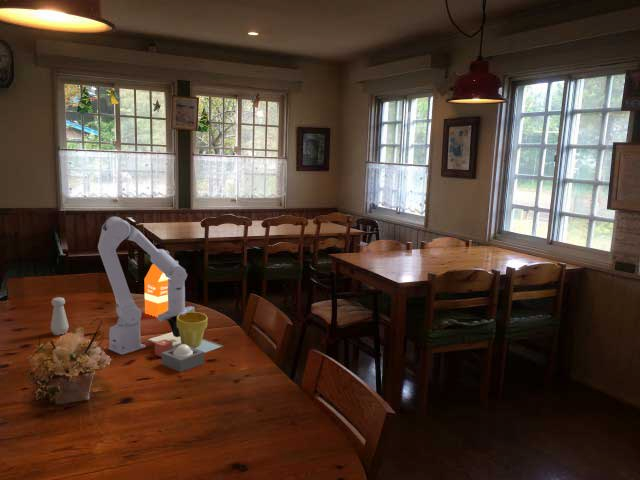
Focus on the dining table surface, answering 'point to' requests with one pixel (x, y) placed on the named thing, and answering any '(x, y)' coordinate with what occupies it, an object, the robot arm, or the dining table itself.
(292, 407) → the dining table surface
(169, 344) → the red die
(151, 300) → the orange juice
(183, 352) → the dome button
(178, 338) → the game board
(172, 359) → the dome base
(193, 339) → the plant pot
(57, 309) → the salt shaker
